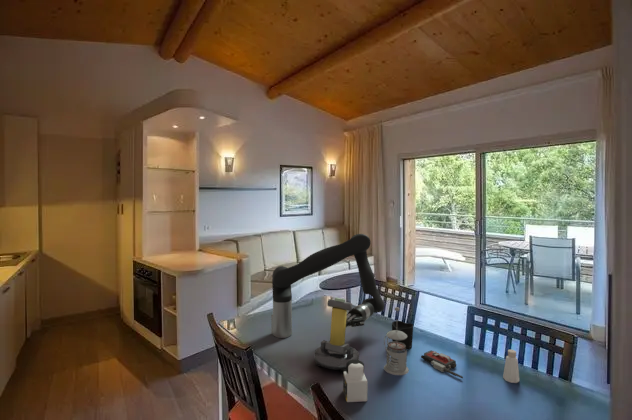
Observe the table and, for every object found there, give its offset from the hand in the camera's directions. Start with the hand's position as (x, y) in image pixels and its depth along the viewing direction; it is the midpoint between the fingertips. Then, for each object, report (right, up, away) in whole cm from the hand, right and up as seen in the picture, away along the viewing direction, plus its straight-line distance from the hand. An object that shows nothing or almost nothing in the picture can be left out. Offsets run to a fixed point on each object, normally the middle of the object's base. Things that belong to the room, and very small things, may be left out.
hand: (341, 325), depth 147 cm
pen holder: (+29, -14, +14) cm, 35 cm away
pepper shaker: (+63, -16, -14) cm, 66 cm away
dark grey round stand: (-2, -15, -3) cm, 15 cm away
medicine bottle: (+3, -16, -25) cm, 30 cm away
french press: (+21, -15, -5) cm, 26 cm away
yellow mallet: (-2, -9, -3) cm, 10 cm away
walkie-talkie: (+41, -16, -5) cm, 44 cm away
